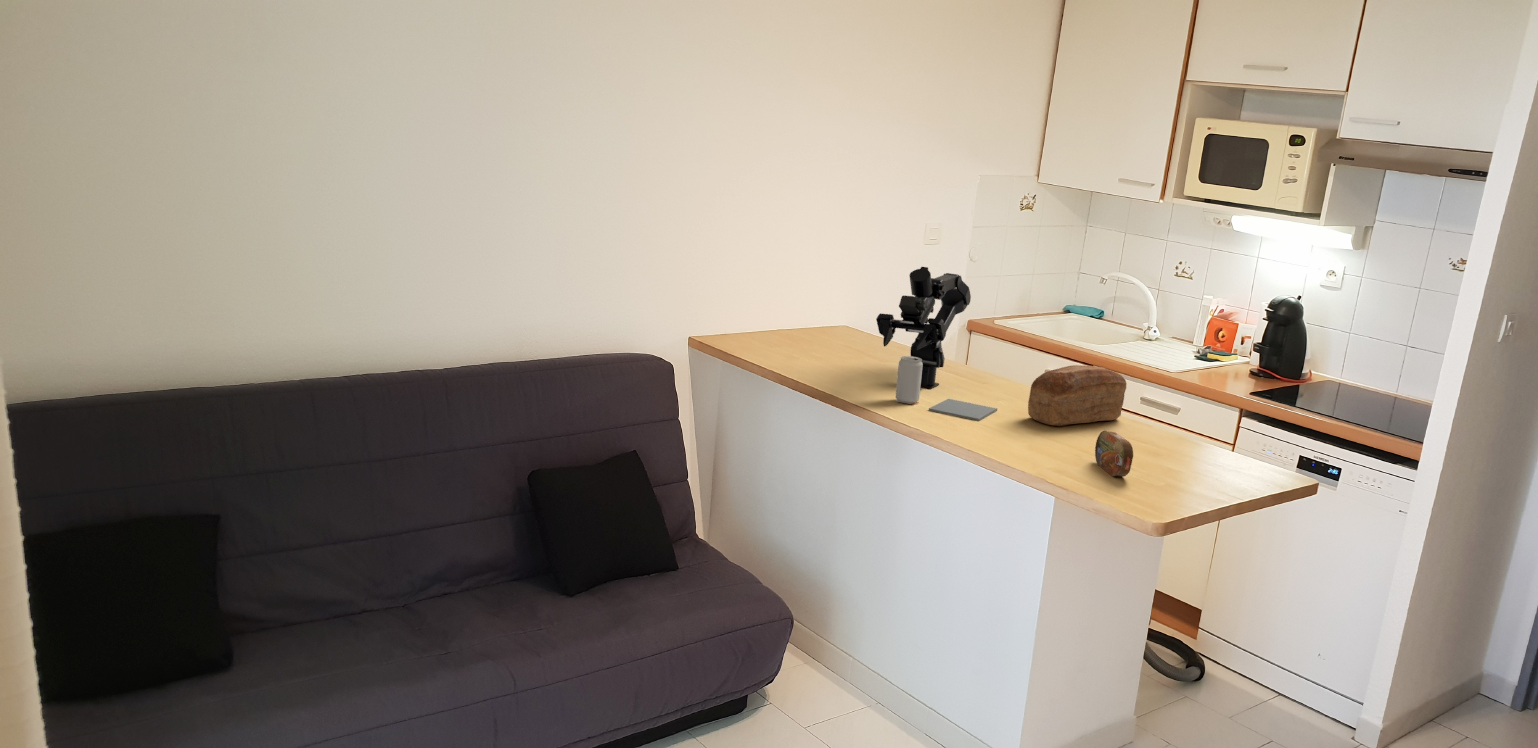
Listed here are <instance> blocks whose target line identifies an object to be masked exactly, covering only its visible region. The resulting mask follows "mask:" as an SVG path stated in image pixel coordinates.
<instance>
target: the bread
mask: <svg viewBox="0 0 1538 748" xmlns="http://www.w3.org/2000/svg"><path fill="white" fill-rule="evenodd" d="M1127 385H1128V384H1127V381H1126V379H1125V378H1124V377H1123V375H1121V374H1119V373H1118V372H1115V371H1113V370H1111V369H1109V368H1106V367H1103V366H1094V365H1078V364H1075V365H1068V366H1064V367H1060V368H1056V369H1055V368H1054V369H1052V370H1048V371H1046V372H1043V373H1042V374H1041V375H1039V376H1037V377H1036V378H1035V379H1034V380H1033V382H1032V383H1031V386H1030V391H1029V397H1028V403H1027V404H1028V405H1027V412H1028V416H1029V417H1030V418H1031V419H1032V420H1035V421H1037V422H1040V423H1042V424H1045V425H1049V426H1058V427H1060V426H1063V427H1064V426H1068V425H1073V424H1074V425H1075V424H1086V423H1087V424H1088V423H1094V422H1098V421H1099V422H1101V421H1103V422H1104V421H1113V420H1116V419H1118V418H1119V417H1121V415H1122V409H1123V405H1124V400H1125V394H1126V390H1127Z"/></svg>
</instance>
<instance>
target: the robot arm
mask: <svg viewBox="0 0 1538 748" xmlns="http://www.w3.org/2000/svg"><path fill="white" fill-rule="evenodd" d="M909 283H910V290H911V291H910V292H911V295H901V297H900V301H899V304H898V307H899V308H900V311H901V312H900V318H902V319H895V318H894V314H890V313H889V314H888V313H879V314H878V315H877V317H876V324H877V329H878V332H879V334H880V335H881V336H882V337H883V340H882V341H883V342H882V343H883V347H887V346H888V345H889V344H890V343H891V342H890V341H892V339H893V338H894V335H895V333H896V329H900V330H905V332H909V333H918V334H917V336H916V337H915V340H914V342H912V344H911V345H910V346H911V347H910V356H912V357H918V358H921V359H922V361H921V362H922V363H923V367H922V377H921V386H920V388H921V387H922V388H927V389H933V388H935V387H938V386H939V385H940V383H939V382H936V376H937V369H939V368H944V364H945V355H944V354H945V353H944V352H943V351H944V350H943V347H942V346H943V345H942V342H943V341H944V340H945V338H946V336H947V331H948V329H949V327H950V326H951V324H952V322H953V320H954V319H955V316H956V315H958V314H961V313H963V312H965V310H966V309H967V308H968V306H969V305H970V304H971V298H972V295H971V291H970V290H971V289H970V287H969V286H968V285H967V284H966V282H964V281H963V279H962V275H960V274H958V273H949V272H946V273H943V275H940V276H938V277H935V278H932V275H931V272H930V270H929V267H928V266H921V267H920V268H917V269H914V270H913V271H911V272H910V273H909ZM937 300H939V301H940V303H941V306H940V308H939V310H938V312H937V314H936V316H935V318H932V317H931V318H930V317H929V315H930V314H931V313H932V314H933V312H934V306H935V305H936V301H937Z"/></svg>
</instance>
